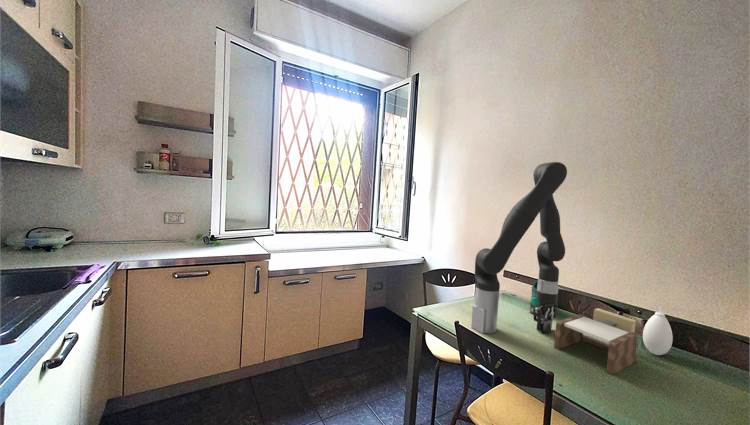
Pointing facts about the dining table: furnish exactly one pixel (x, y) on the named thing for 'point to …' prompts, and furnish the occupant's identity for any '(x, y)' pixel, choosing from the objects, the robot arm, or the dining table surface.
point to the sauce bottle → (658, 334)
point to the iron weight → (547, 326)
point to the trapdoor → (603, 325)
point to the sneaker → (534, 298)
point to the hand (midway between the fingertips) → (544, 329)
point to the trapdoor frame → (600, 345)
